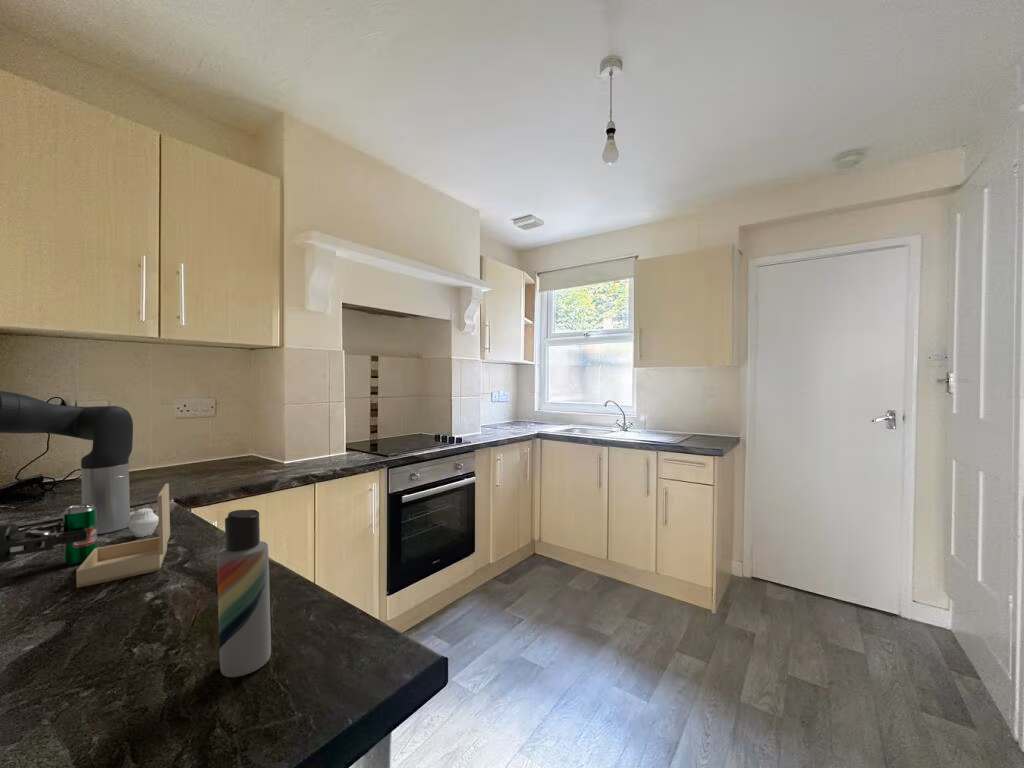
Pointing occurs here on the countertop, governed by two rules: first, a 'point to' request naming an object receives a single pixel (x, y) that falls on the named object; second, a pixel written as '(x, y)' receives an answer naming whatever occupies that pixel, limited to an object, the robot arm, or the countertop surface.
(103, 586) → the countertop surface
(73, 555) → the soda can
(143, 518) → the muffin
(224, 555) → the lotion bottle
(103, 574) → the mailer box
